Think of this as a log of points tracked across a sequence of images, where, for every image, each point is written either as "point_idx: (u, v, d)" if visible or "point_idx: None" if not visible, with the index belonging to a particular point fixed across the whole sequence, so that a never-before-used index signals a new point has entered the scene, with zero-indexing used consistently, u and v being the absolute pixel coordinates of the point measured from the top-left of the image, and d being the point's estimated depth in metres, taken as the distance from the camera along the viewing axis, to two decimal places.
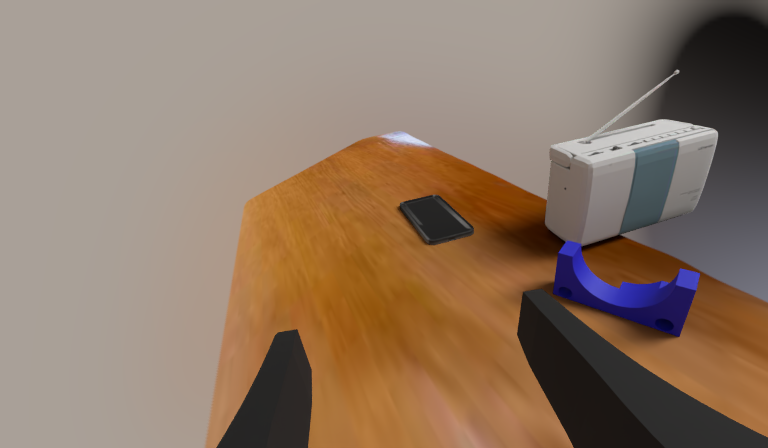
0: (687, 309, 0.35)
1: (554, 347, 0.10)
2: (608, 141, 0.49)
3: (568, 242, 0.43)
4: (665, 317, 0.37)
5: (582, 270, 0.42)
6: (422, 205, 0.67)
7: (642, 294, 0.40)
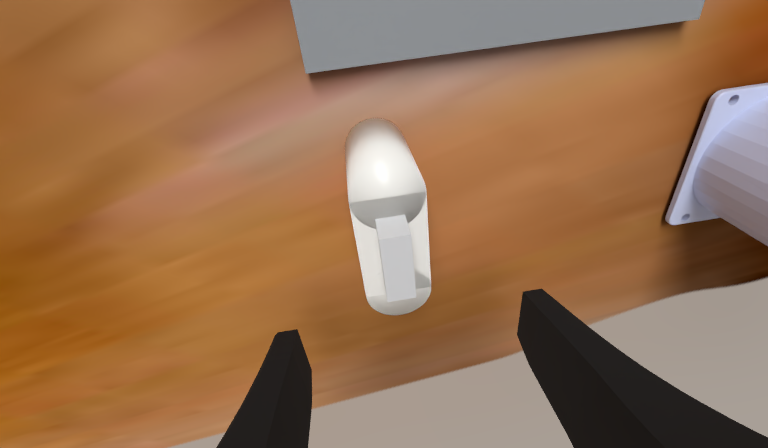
0: None
1: (554, 347, 0.10)
2: None
3: None
4: None
5: None
6: None
7: None
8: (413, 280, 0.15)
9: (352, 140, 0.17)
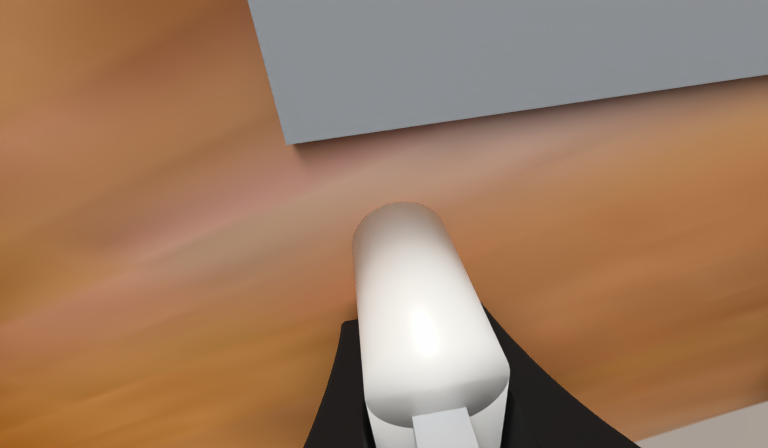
0: None
1: None
2: None
3: None
4: None
5: None
6: None
7: None
8: None
9: (366, 248, 0.10)
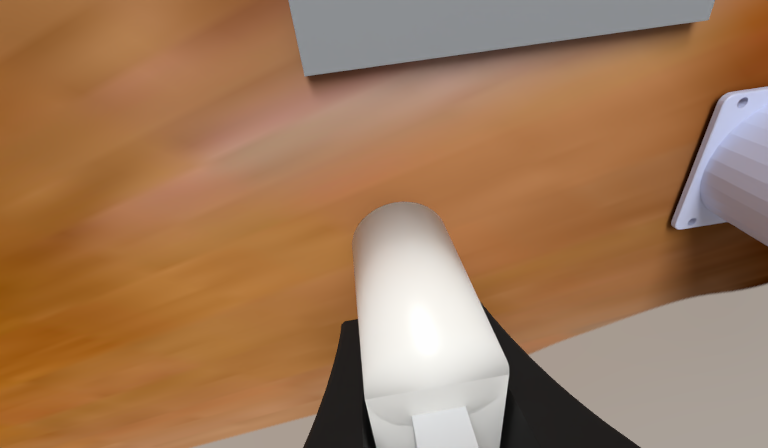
0: None
1: None
2: None
3: None
4: None
5: None
6: None
7: None
8: None
9: (366, 247, 0.10)
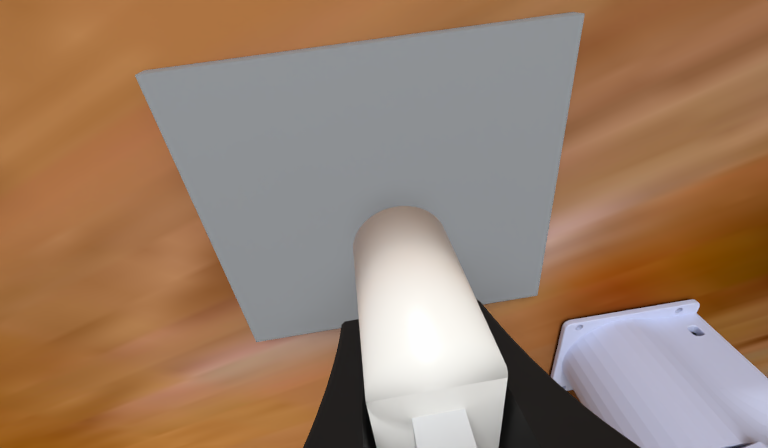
0: None
1: None
2: None
3: None
4: None
5: None
6: None
7: None
8: None
9: (367, 251, 0.10)
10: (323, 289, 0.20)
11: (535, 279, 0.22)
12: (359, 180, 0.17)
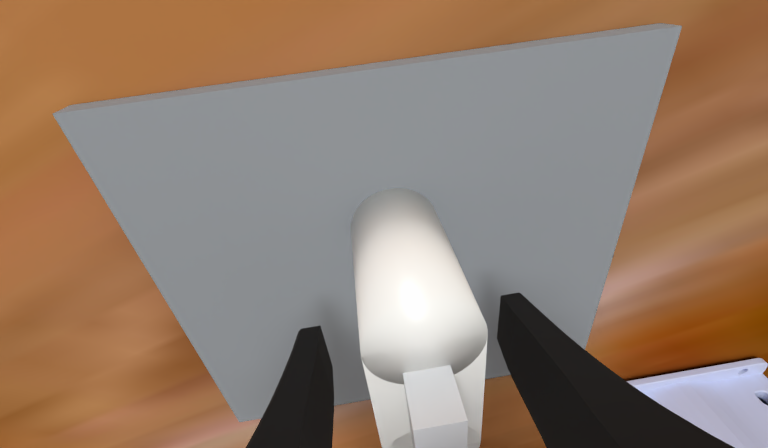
0: None
1: (529, 351, 0.10)
2: None
3: None
4: None
5: None
6: None
7: None
8: None
9: (363, 228, 0.11)
10: None
11: (581, 345, 0.18)
12: None
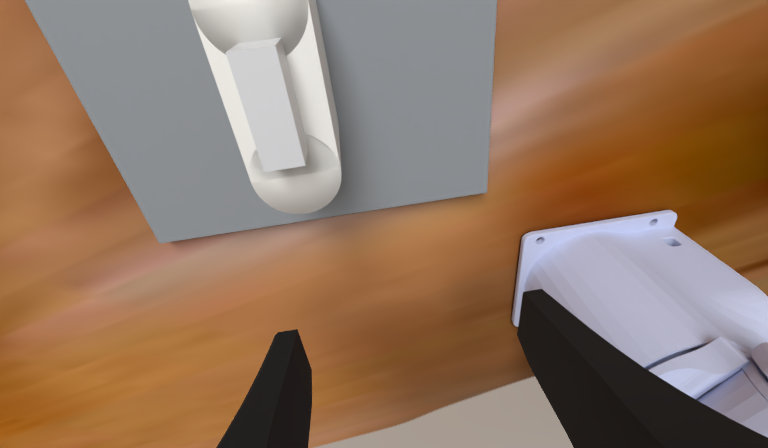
0: None
1: (554, 347, 0.10)
2: None
3: None
4: None
5: None
6: None
7: None
8: (295, 134, 0.10)
9: None
10: (229, 172, 0.17)
11: (483, 170, 0.19)
12: None
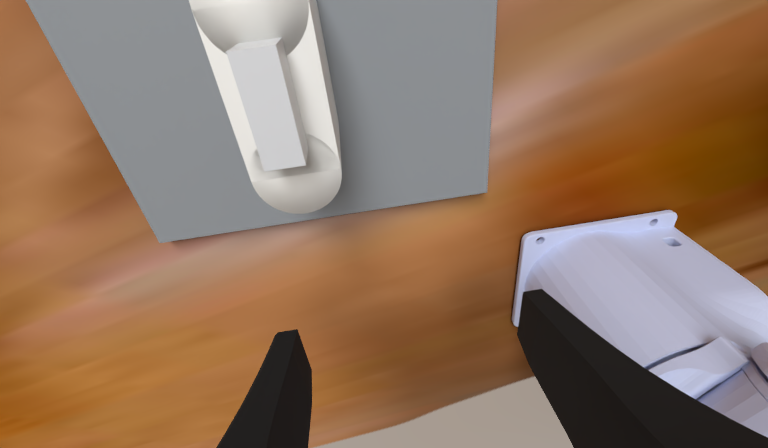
0: None
1: (554, 347, 0.10)
2: None
3: None
4: None
5: None
6: None
7: None
8: (295, 133, 0.10)
9: None
10: (229, 171, 0.17)
11: (483, 170, 0.19)
12: None
